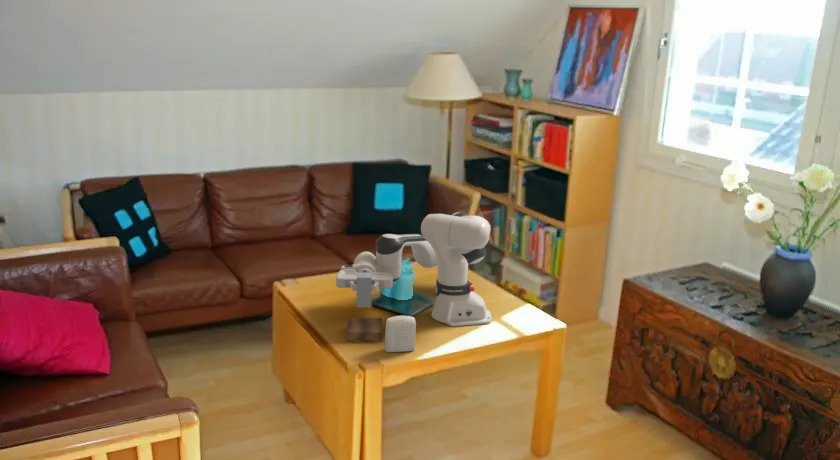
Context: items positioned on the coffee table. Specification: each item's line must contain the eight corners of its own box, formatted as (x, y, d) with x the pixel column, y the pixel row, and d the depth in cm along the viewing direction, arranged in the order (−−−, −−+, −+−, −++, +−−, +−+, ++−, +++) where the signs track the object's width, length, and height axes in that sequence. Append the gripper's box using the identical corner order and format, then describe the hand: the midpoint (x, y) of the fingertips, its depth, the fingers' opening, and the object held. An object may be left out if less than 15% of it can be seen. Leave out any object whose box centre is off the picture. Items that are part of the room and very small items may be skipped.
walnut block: (381, 328, 262) (381, 318, 261) (382, 343, 251) (382, 332, 250) (348, 328, 262) (348, 317, 260) (347, 342, 250) (347, 332, 249)
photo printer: (413, 346, 249) (414, 312, 245) (416, 351, 245) (417, 317, 241) (383, 348, 246) (384, 314, 243) (386, 353, 242) (386, 319, 239)
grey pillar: (371, 301, 256) (371, 272, 253) (371, 307, 252) (371, 277, 248) (356, 301, 256) (357, 272, 253) (356, 307, 251) (356, 277, 248)
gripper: (393, 282, 267) (393, 297, 253) (337, 282, 265) (334, 296, 252) (393, 266, 265) (394, 280, 251) (337, 266, 263) (334, 279, 250)
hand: (364, 288), depth 252 cm, fingers closed on grey pillar, 5 cm apart
